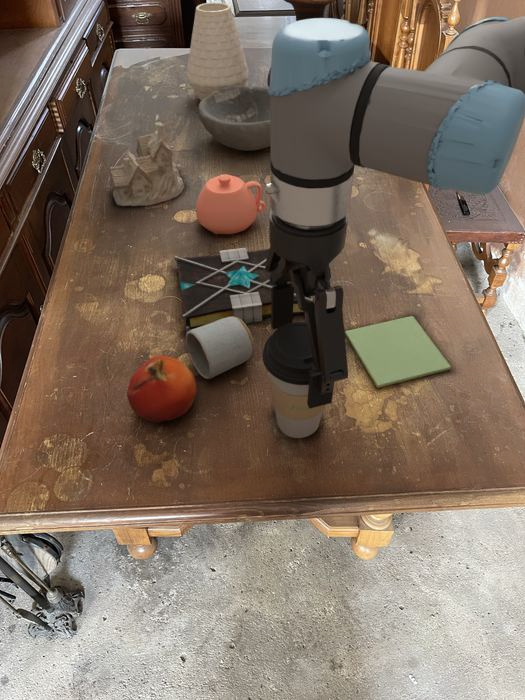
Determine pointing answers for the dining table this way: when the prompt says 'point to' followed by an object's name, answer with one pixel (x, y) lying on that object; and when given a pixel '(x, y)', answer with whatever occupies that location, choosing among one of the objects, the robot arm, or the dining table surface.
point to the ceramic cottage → (147, 172)
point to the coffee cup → (291, 379)
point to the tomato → (161, 389)
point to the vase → (215, 51)
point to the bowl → (238, 117)
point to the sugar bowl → (228, 204)
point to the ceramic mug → (219, 346)
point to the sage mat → (396, 351)
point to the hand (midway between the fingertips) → (299, 362)
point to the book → (226, 287)
